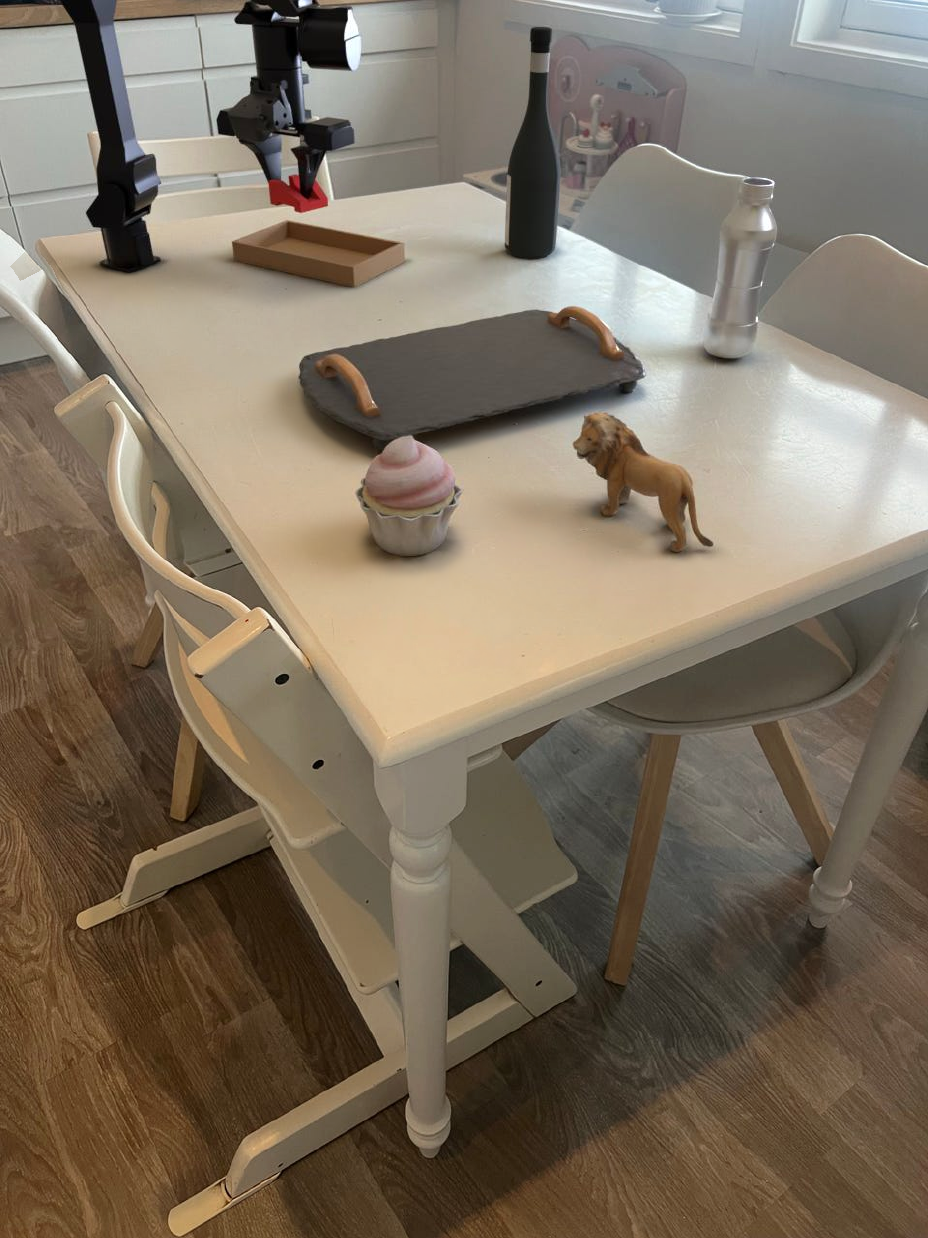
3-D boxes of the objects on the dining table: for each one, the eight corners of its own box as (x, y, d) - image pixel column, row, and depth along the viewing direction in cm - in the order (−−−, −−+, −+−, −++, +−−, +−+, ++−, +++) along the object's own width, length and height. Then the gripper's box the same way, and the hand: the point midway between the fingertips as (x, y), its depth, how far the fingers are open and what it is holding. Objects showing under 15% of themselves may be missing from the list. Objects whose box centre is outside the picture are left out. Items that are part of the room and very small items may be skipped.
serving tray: (359, 471, 94) (355, 413, 91) (276, 383, 110) (269, 330, 106) (667, 391, 110) (675, 339, 106) (555, 324, 125) (559, 277, 122)
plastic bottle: (757, 348, 120) (793, 178, 107) (746, 368, 115) (782, 192, 103) (706, 340, 122) (735, 171, 110) (693, 359, 117) (722, 185, 105)
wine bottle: (494, 253, 149) (501, 27, 130) (521, 240, 154) (531, 22, 135) (538, 263, 145) (552, 33, 126) (564, 250, 150) (581, 26, 132)
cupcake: (467, 565, 82) (469, 462, 76) (357, 569, 81) (350, 465, 75) (459, 508, 89) (460, 409, 83) (358, 511, 88) (351, 412, 82)
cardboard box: (234, 260, 145) (231, 241, 143) (288, 237, 154) (287, 219, 152) (354, 287, 136) (353, 267, 134) (404, 261, 145) (404, 242, 143)
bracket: (270, 203, 131) (268, 180, 130) (297, 197, 134) (295, 174, 132) (300, 212, 128) (298, 189, 126) (328, 205, 131) (326, 182, 129)
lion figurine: (558, 505, 90) (566, 417, 84) (590, 483, 93) (599, 397, 87) (697, 563, 82) (715, 471, 77) (726, 538, 86) (746, 448, 80)
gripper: (178, 68, 119) (198, 200, 129) (299, 83, 112) (311, 221, 122) (237, 56, 127) (251, 182, 137) (353, 70, 120) (360, 201, 130)
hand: (290, 196), depth 131 cm, fingers closed on bracket, 4 cm apart
